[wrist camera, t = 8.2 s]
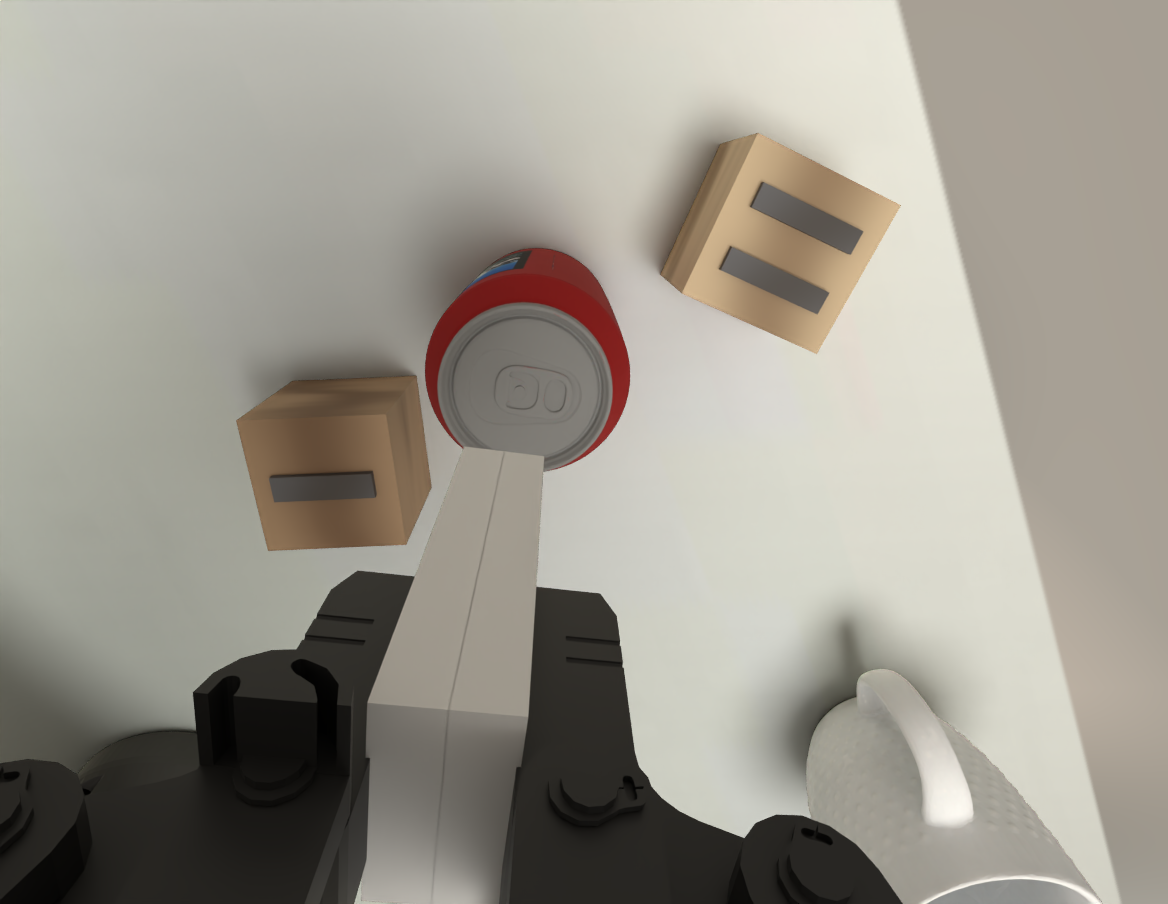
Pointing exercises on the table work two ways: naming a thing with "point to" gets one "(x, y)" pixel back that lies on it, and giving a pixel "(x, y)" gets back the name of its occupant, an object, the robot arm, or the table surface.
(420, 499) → the wooden minus sign cube
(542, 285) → the beverage can
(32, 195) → the table surface
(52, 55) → the table surface
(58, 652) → the table surface
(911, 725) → the mug
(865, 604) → the table surface
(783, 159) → the wooden equals sign cube
